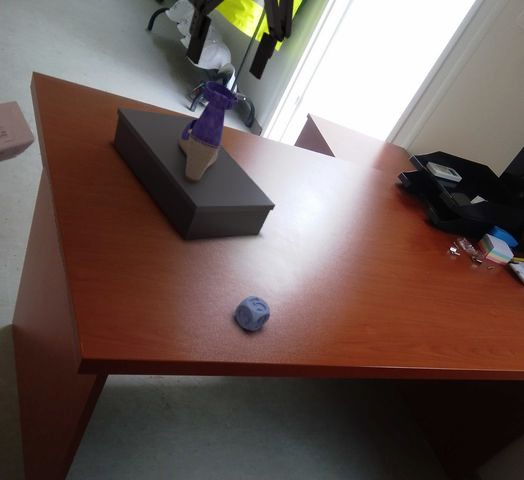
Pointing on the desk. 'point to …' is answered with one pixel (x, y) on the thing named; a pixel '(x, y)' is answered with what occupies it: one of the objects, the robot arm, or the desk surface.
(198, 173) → the sandal
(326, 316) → the desk surface
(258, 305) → the decorative dice
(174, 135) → the shoebox
